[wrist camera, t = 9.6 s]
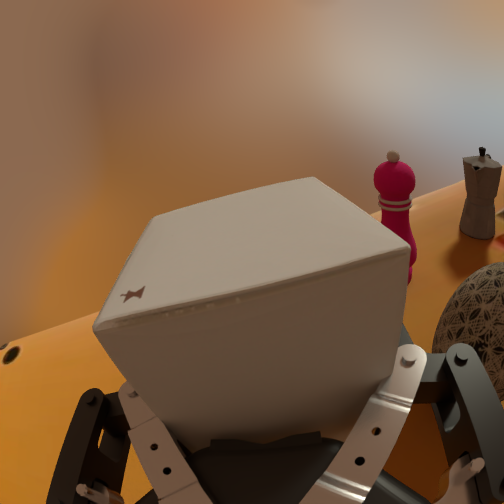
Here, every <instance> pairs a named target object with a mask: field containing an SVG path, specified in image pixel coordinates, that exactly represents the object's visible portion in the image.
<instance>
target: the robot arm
mask: <svg viewBox="0 0 504 504" xmlns="http://www.w3.org/2000/svg"><path fill="white" fill-rule="evenodd" d="M416 403H431V405H432V408H433V411H434V414H435V418H436V421H437V424H438V428H439V431H440V434H441V438H442V442H443V445H444V449H445V453H446V457H447V461H448V465H449V468H448V469H447V470H445V471H444V473H443V474H442V475H441V477H440V480H439V491H438V495H437V497H436V499H435V500H434V502H433V503H432V504H502V503H504V409H503V407H502V405H501V402H500V400H499V398H498V395H497V393H496V391H495V389H494V387H493V385H492V382H491V380H490V378H489V376H488V374H487V372H486V370H485V368H484V366H483V364H482V362H481V360H480V359H479V357H478V355H477V353H476V351H475V350H474V349H473V348H472V347H471V346H469V345H467V344H464V343H457V344H454V345H452V346H451V347H450V348H449V349H448V351H447V353H438V354H430V353H425V352H424V350H423V349H422V348H420V347H419V346H417V345H414V344H413V342H412V340H411V338H410V336H409V334H408V332H407V330H406V328H405V326H404V324H403V323H402V328H401V333H400V339H399V344H398V350H397V355H396V360H395V365H394V369H393V373H392V374H391V375H389V376H388V377H385V378H383V379H381V381H380V383H379V385H378V387H377V389H376V391H375V393H374V394H372V395H371V396H370V398H369V400H368V402H367V404H366V406H365V407H364V409H363V411H362V413H361V415H360V417H359V418H358V420H357V422H356V424H355V425H354V427H353V429H352V431H351V432H350V434H349V436H348V437H347V439H346V441H345V442H342V441H340V440H336V439H332V438H325V437H321V433H320V431H316V432H310V433H303V434H295V435H290V436H288V437H285V438H281V439H278V440H275V441H272V442H269V443H264V444H262V443H255V442H249V441H244V440H239V439H211V441H210V446H208V447H205V448H202V449H200V450H198V451H196V452H194V453H193V452H192V451H191V450H190V449H189V448H188V447H187V446H186V445H185V444H184V443H183V442H182V441H181V440H180V439H179V438H178V437H177V436H176V435H175V434H174V433H173V432H172V431H171V430H170V429H169V428H168V427H167V426H166V424H165V423H164V422H163V421H161V420H159V418H158V417H157V416H156V415H155V414H154V413H153V412H152V411H151V409H150V408H149V407H148V406H147V404H146V403H145V402H144V401H143V400H142V399H141V398H140V396H139V395H138V394H137V393H136V391H135V390H134V389H133V387H132V386H131V385H130V384H129V382H128V381H126V382H125V383H124V384H123V385H122V386H121V387H120V389H119V391H118V392H115V393H110V394H106V395H104V393H103V392H102V391H101V390H100V389H97V388H92V389H89V390H87V391H86V392H85V393H83V395H82V396H81V398H80V400H79V402H78V405H77V408H76V410H75V413H74V415H73V418H72V421H71V423H70V426H69V429H68V431H67V434H66V437H65V440H64V443H63V446H62V449H61V452H60V455H59V458H58V461H57V464H56V468H55V471H54V474H53V478H52V481H51V485H50V488H49V492H48V496H47V500H46V504H124V500H123V498H122V496H121V495H120V493H121V487H122V482H123V477H124V472H125V467H126V463H127V458H128V453H129V449H130V444H131V443H132V445H133V447H134V449H135V452H136V454H137V456H138V458H139V461H140V463H141V465H142V467H143V469H144V471H145V473H146V475H147V477H148V479H149V481H150V483H151V485H152V487H153V489H152V490H150V491H149V492H148V493H147V494H146V495H145V496H143V497H142V498H141V499H140V500H139V501H137V502H136V503H135V504H431V503H430V502H429V501H428V500H427V499H426V498H424V497H423V496H421V495H420V494H418V493H417V492H415V491H414V490H412V489H410V488H409V487H407V486H406V485H404V484H403V483H402V482H400V481H399V480H397V479H396V478H394V477H393V476H391V475H390V474H389V473H387V472H386V471H384V470H383V469H382V468H383V466H384V465H385V463H386V461H387V459H388V457H389V455H390V453H391V451H392V449H393V447H394V445H395V443H396V441H397V439H398V436H399V434H400V432H401V430H402V427H403V425H404V423H405V421H406V418H407V416H408V413H409V411H410V408H411V406H412V404H416ZM102 429H103V430H104V433H103V436H102V440H101V443H100V447H99V448H98V440H99V437H100V434H101V430H102Z"/></svg>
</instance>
